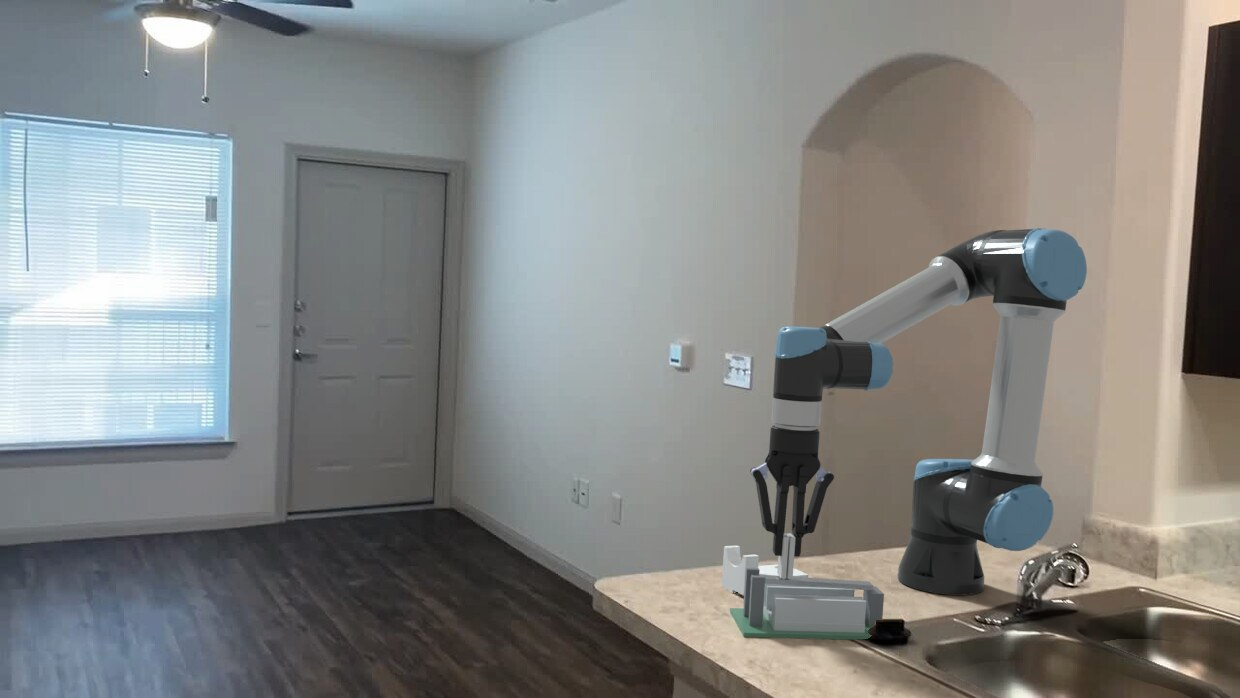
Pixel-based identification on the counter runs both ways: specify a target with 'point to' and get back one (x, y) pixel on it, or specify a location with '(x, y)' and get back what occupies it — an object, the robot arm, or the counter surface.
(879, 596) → the heatsink board
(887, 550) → the counter surface
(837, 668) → the counter surface
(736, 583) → the bracket
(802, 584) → the strap
